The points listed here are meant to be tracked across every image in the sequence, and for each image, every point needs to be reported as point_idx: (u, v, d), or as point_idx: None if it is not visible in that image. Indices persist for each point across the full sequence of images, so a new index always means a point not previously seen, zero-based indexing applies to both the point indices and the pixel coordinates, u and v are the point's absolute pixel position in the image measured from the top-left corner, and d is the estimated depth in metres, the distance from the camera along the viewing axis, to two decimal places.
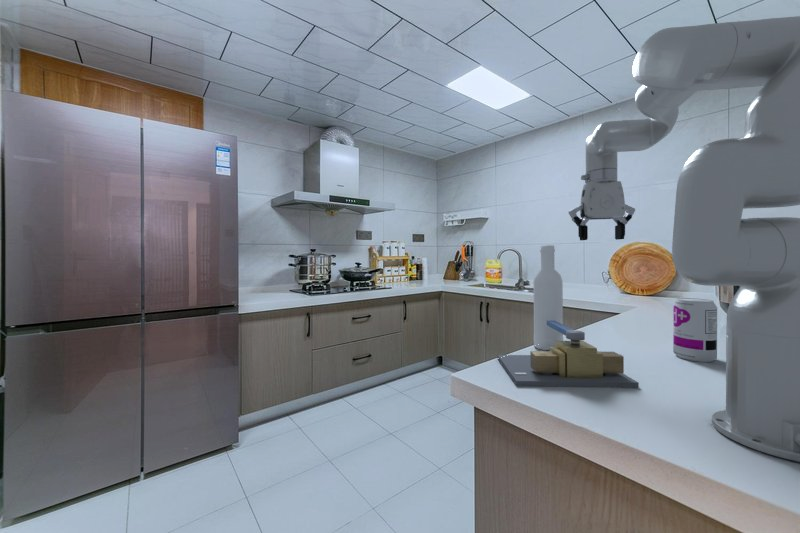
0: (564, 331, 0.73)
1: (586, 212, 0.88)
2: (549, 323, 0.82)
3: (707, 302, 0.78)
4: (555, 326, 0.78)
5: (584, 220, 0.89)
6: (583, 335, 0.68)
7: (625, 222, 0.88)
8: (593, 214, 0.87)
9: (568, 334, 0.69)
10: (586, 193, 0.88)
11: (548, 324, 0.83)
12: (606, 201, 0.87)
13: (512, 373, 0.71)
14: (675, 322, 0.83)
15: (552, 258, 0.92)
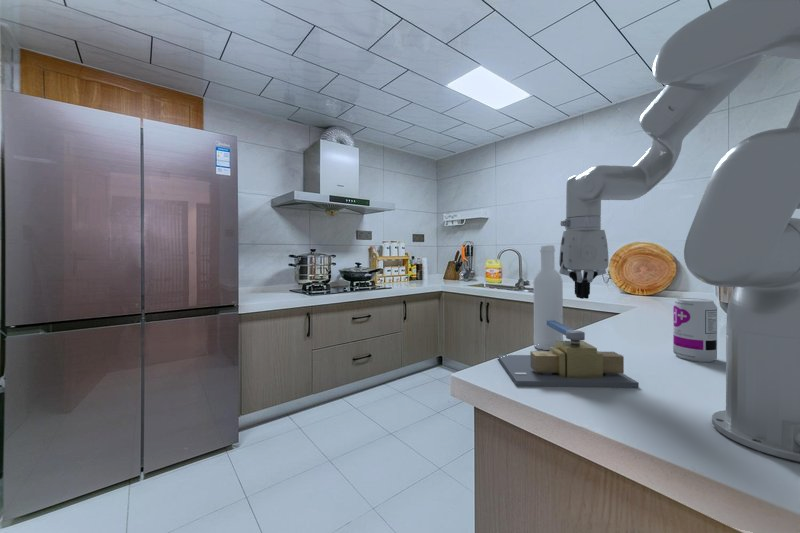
0: (564, 331, 0.73)
1: (565, 264, 0.79)
2: (549, 323, 0.82)
3: (707, 302, 0.78)
4: (555, 326, 0.78)
5: (578, 277, 0.79)
6: (583, 335, 0.68)
7: (589, 280, 0.79)
8: (573, 266, 0.78)
9: (568, 334, 0.69)
10: (565, 242, 0.79)
11: (548, 324, 0.83)
12: (587, 253, 0.77)
13: (512, 373, 0.71)
14: (675, 322, 0.83)
15: (552, 258, 0.92)
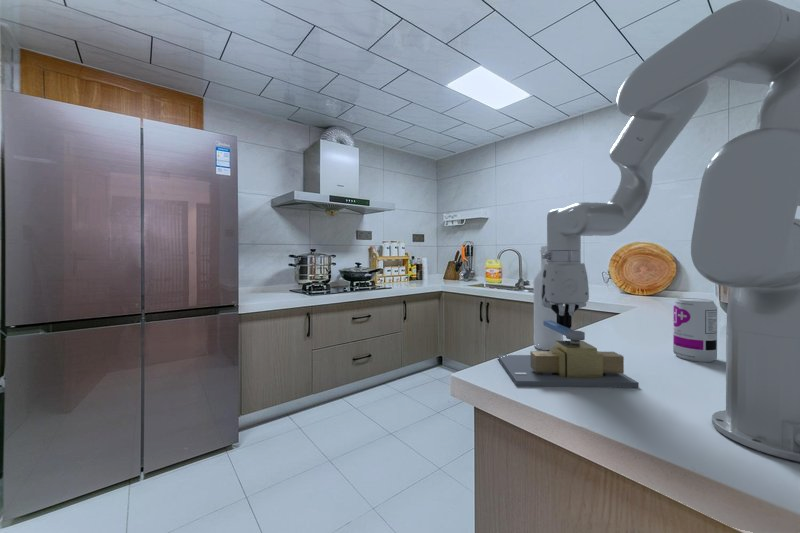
0: (563, 331, 0.73)
1: (547, 297, 0.79)
2: (546, 323, 0.82)
3: (707, 302, 0.78)
4: (553, 326, 0.78)
5: (560, 310, 0.79)
6: (583, 335, 0.69)
7: (571, 313, 0.79)
8: (555, 300, 0.78)
9: (568, 334, 0.69)
10: (547, 275, 0.79)
11: (545, 324, 0.83)
12: (569, 286, 0.78)
13: (512, 373, 0.71)
14: (675, 322, 0.83)
15: None
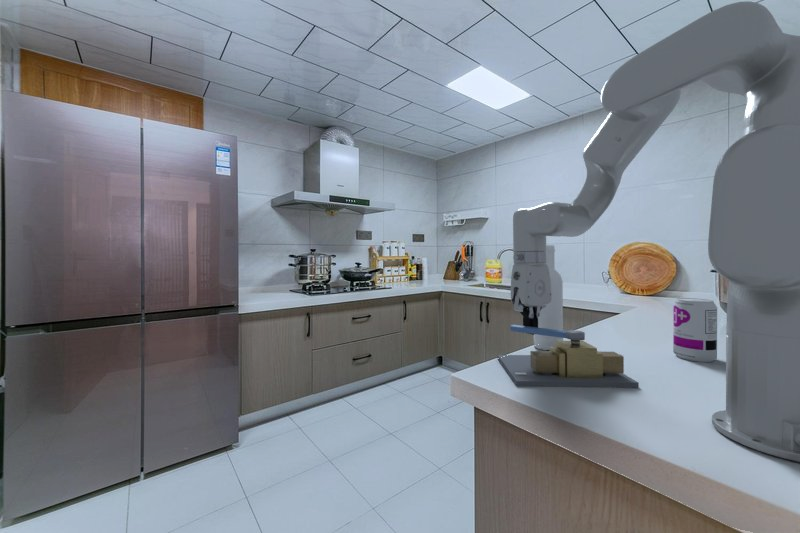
0: (558, 333, 0.71)
1: (523, 301, 0.74)
2: (518, 328, 0.77)
3: (707, 302, 0.78)
4: (534, 330, 0.74)
5: (530, 312, 0.77)
6: None
7: (537, 315, 0.78)
8: (530, 303, 0.75)
9: (576, 335, 0.68)
10: (522, 277, 0.75)
11: (515, 329, 0.77)
12: (539, 288, 0.76)
13: (512, 373, 0.71)
14: (675, 322, 0.83)
15: (552, 258, 0.92)
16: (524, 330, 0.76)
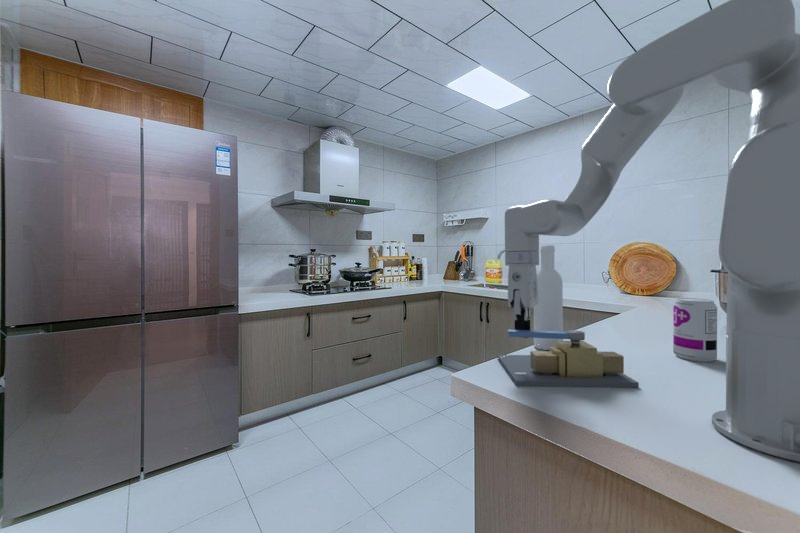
0: (561, 335, 0.70)
1: (526, 303, 0.70)
2: (517, 333, 0.72)
3: (707, 302, 0.78)
4: (535, 333, 0.71)
5: (526, 315, 0.73)
6: None
7: (528, 317, 0.76)
8: (531, 305, 0.71)
9: (580, 335, 0.68)
10: (524, 278, 0.70)
11: (514, 335, 0.72)
12: (534, 289, 0.74)
13: (512, 373, 0.71)
14: (675, 322, 0.83)
15: (552, 258, 0.92)
16: (524, 334, 0.72)
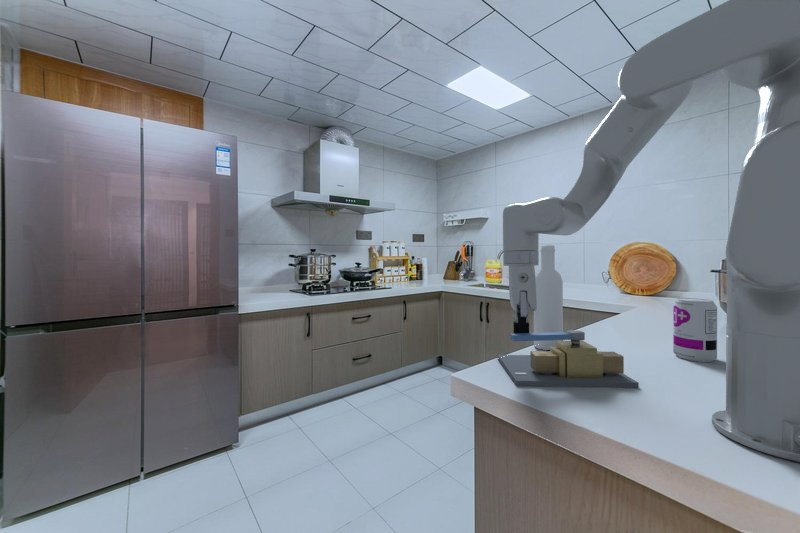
0: (564, 336, 0.69)
1: (534, 305, 0.67)
2: (522, 337, 0.69)
3: (707, 302, 0.78)
4: (540, 336, 0.69)
5: None
6: None
7: None
8: None
9: (582, 335, 0.68)
10: (531, 279, 0.67)
11: (519, 339, 0.68)
12: None
13: (512, 373, 0.71)
14: (675, 322, 0.83)
15: (552, 258, 0.92)
16: (529, 338, 0.69)
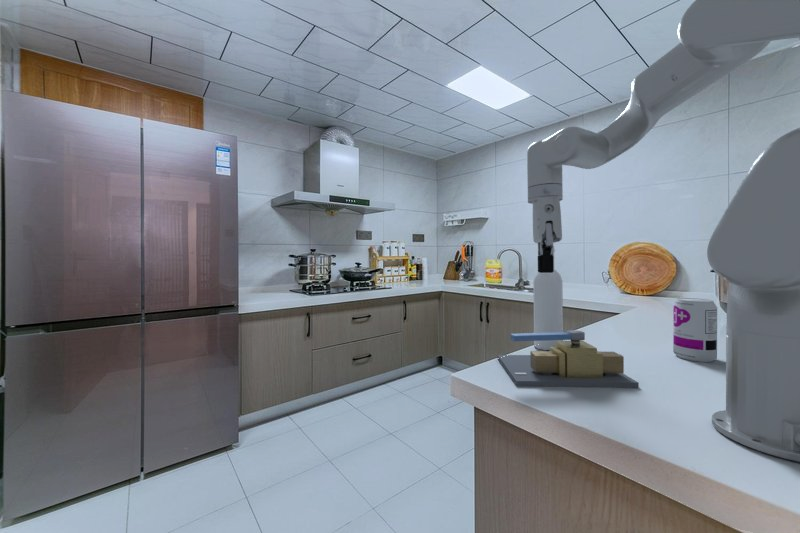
0: (564, 336, 0.69)
1: (559, 234, 0.70)
2: (522, 337, 0.69)
3: (707, 302, 0.78)
4: (540, 336, 0.69)
5: (552, 249, 0.74)
6: None
7: None
8: None
9: (582, 335, 0.68)
10: (557, 210, 0.71)
11: (519, 339, 0.68)
12: None
13: (512, 373, 0.71)
14: (675, 322, 0.83)
15: None
16: (529, 338, 0.69)
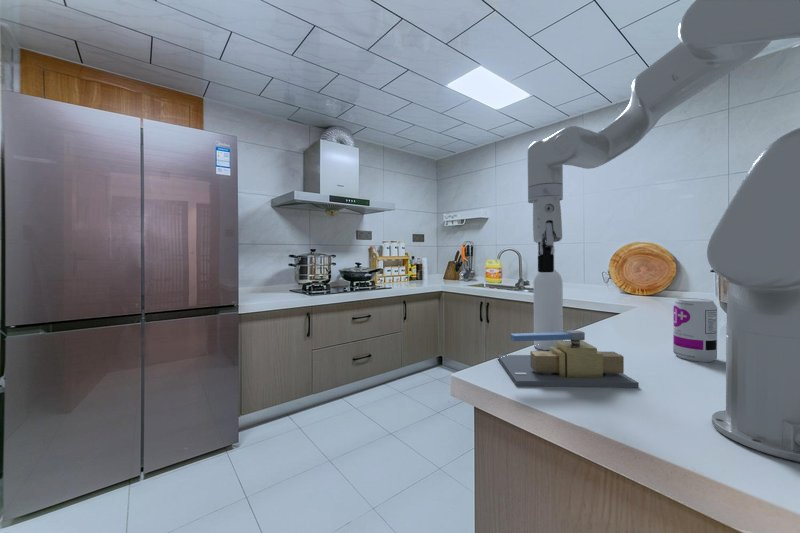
0: (564, 336, 0.69)
1: (559, 234, 0.70)
2: (522, 337, 0.69)
3: (707, 302, 0.78)
4: (540, 336, 0.69)
5: None
6: None
7: None
8: None
9: (582, 335, 0.68)
10: (557, 209, 0.71)
11: (519, 339, 0.68)
12: None
13: (512, 373, 0.71)
14: (675, 322, 0.83)
15: None
16: (529, 338, 0.69)
